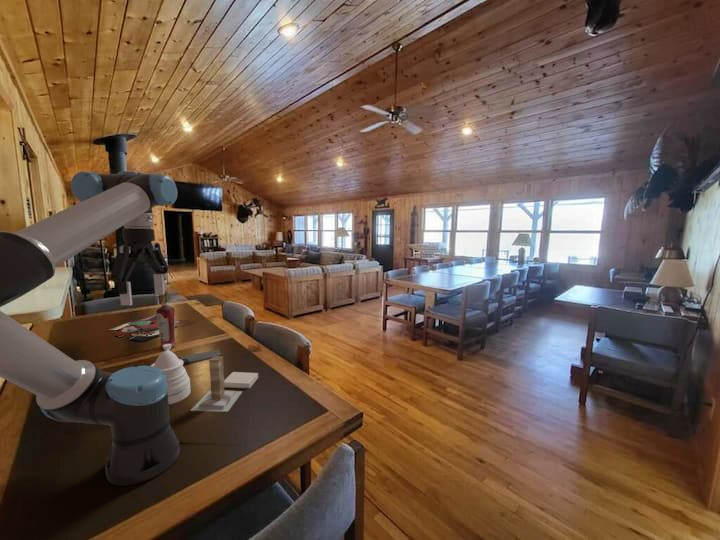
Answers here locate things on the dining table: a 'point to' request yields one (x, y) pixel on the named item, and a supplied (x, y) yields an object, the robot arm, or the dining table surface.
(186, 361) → the cleaver
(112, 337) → the dining table surface
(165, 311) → the dark red glass bottle
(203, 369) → the dining table surface
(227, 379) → the tile
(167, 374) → the honey pot
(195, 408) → the mat
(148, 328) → the multicoloured flat piece
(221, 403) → the wooden handled stamp
